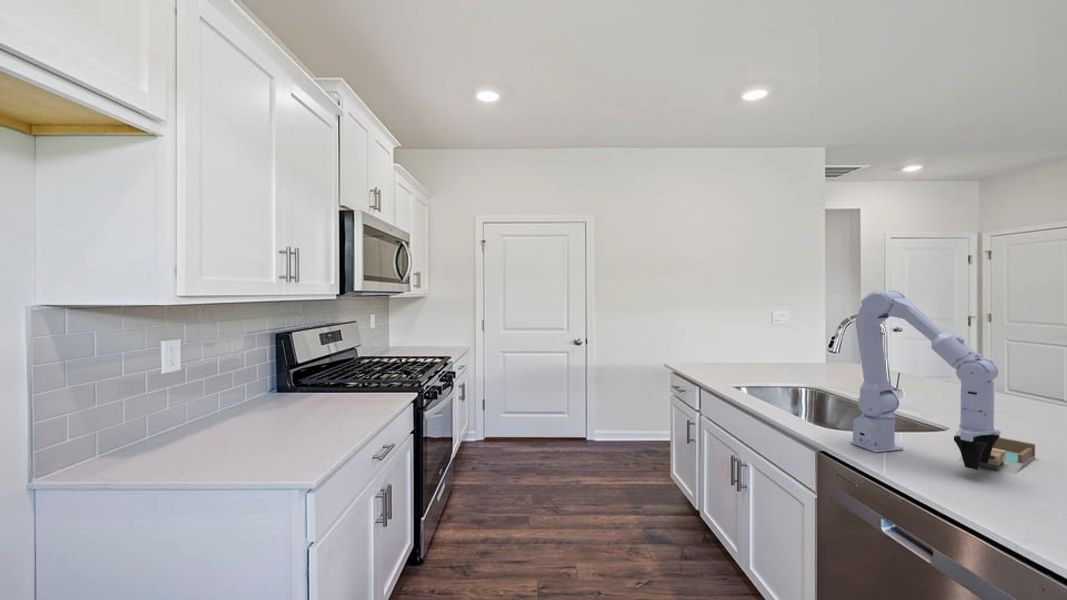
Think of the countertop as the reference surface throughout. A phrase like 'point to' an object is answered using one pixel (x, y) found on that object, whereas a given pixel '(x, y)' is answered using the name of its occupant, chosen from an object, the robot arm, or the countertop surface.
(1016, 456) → the bay pad
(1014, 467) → the dock
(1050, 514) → the countertop surface
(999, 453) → the tan cardboard box
